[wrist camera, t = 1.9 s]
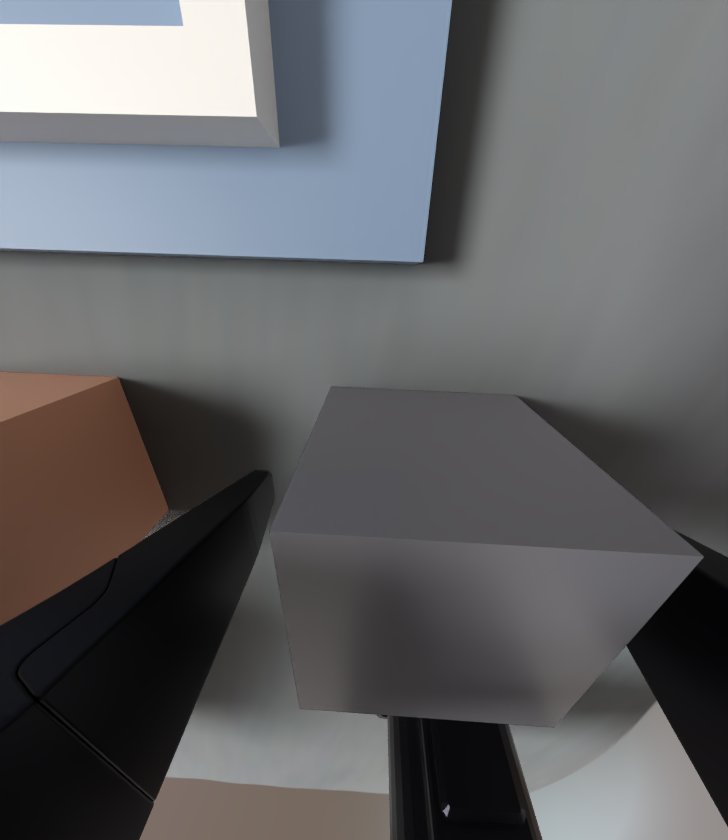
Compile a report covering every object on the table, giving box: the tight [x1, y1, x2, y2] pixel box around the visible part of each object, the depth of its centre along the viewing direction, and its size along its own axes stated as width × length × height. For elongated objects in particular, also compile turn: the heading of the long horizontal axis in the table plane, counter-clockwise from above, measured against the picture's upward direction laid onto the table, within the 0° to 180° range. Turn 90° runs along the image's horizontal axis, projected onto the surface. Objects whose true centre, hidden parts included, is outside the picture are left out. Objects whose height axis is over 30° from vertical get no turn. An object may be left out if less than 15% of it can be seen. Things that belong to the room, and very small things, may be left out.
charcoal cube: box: [269, 387, 704, 727], centre depth 7 cm, size 5×5×5 cm
